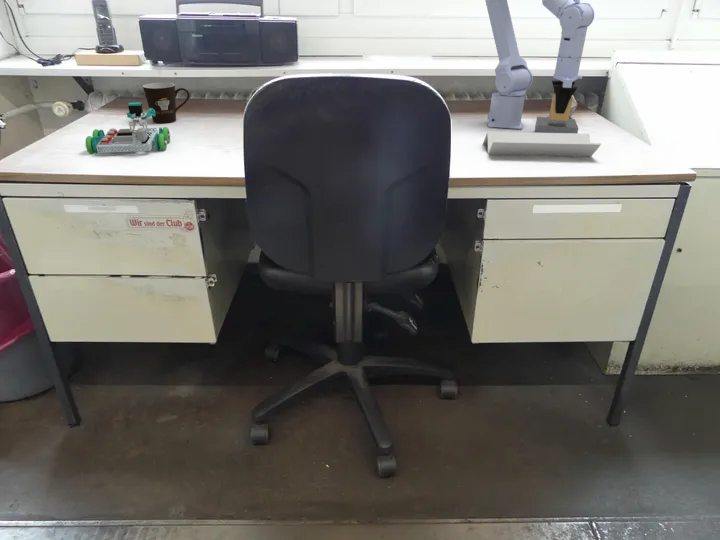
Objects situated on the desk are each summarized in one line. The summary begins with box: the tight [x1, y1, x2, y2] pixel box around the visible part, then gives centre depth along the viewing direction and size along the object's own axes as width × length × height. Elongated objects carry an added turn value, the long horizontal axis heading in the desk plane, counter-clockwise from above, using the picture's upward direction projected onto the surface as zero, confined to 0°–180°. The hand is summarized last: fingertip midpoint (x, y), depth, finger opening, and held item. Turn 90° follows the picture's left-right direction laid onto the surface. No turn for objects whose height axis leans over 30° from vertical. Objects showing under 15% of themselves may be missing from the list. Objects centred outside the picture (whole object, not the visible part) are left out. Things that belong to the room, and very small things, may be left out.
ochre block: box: [548, 92, 574, 121], centre depth 141 cm, size 4×4×6 cm
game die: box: [547, 94, 582, 119], centre depth 161 cm, size 9×8×10 cm
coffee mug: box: [142, 82, 190, 125], centre depth 153 cm, size 12×9×10 cm
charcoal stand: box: [534, 116, 579, 134], centre depth 144 cm, size 10×10×4 cm
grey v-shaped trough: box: [482, 131, 602, 157], centre depth 132 cm, size 12×25×6 cm
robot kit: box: [85, 101, 172, 155], centre depth 134 cm, size 19×25×9 cm
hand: (559, 111), depth 142 cm, fingers closed on ochre block, 4 cm apart
